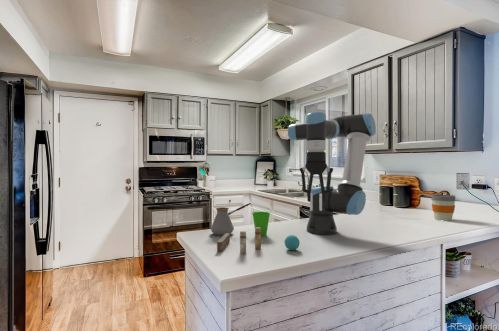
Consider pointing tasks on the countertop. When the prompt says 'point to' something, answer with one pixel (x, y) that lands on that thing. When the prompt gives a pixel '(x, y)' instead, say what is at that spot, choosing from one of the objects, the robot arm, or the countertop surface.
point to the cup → (261, 221)
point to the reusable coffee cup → (443, 206)
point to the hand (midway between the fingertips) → (316, 209)
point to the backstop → (223, 242)
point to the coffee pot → (223, 221)
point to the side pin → (242, 242)
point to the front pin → (257, 238)
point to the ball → (292, 242)
